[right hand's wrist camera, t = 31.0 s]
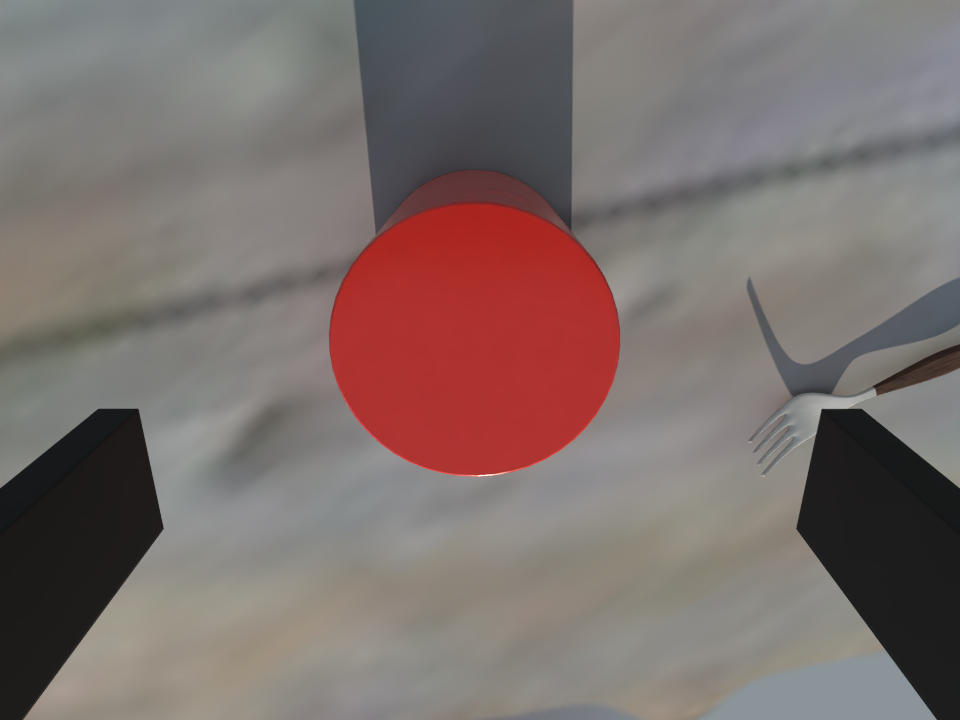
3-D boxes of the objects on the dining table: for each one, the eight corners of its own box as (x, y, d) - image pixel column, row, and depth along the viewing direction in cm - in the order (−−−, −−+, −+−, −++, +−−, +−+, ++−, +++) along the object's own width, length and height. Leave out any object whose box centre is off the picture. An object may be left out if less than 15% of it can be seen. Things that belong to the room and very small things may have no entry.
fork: (1057, 333, 33) (1092, 347, 31) (748, 460, 35) (763, 480, 33) (1048, 287, 32) (1084, 298, 30) (732, 420, 34) (747, 438, 32)
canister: (347, 305, 32) (282, 402, 21) (434, 130, 29) (411, 141, 19) (510, 389, 34) (526, 519, 23) (608, 231, 31) (678, 295, 20)
